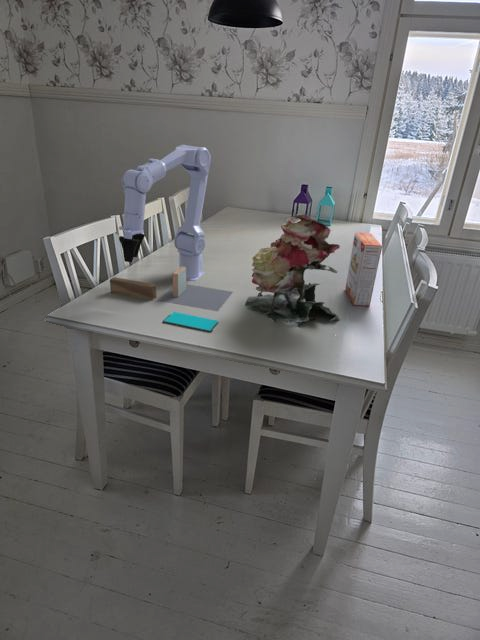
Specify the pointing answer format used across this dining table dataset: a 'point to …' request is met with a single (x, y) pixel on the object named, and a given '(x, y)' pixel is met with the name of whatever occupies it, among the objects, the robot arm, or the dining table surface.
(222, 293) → the mat
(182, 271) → the tile
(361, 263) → the cracker box
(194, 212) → the robot arm
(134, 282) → the brown wooden plank
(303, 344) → the dining table surface
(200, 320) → the smartphone
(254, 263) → the rose bouquet
